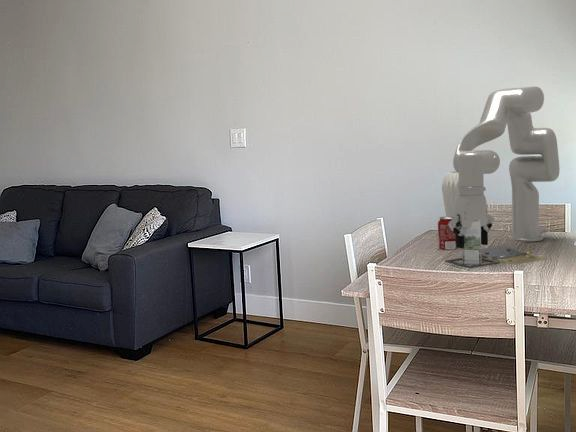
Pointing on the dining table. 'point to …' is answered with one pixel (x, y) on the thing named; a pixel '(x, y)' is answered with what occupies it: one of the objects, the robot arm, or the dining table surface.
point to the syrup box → (472, 244)
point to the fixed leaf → (520, 259)
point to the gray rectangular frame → (472, 265)
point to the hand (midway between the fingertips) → (471, 246)
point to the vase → (450, 192)
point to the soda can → (446, 235)
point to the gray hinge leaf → (500, 252)
